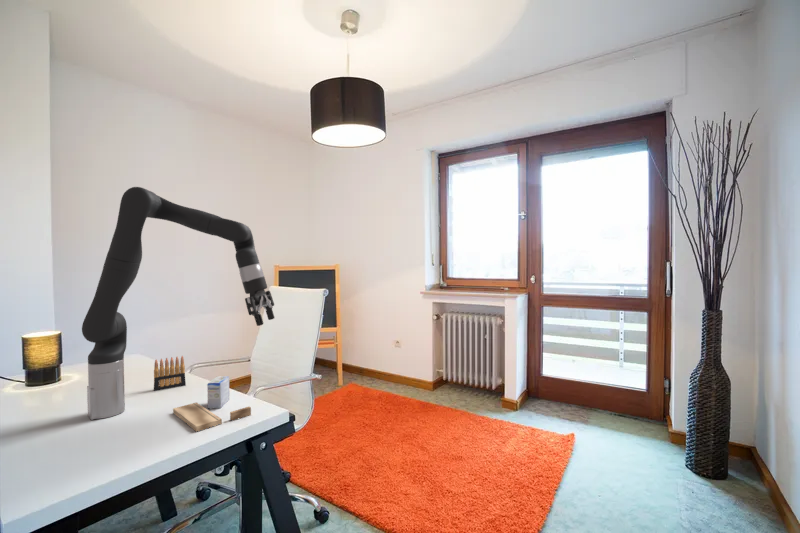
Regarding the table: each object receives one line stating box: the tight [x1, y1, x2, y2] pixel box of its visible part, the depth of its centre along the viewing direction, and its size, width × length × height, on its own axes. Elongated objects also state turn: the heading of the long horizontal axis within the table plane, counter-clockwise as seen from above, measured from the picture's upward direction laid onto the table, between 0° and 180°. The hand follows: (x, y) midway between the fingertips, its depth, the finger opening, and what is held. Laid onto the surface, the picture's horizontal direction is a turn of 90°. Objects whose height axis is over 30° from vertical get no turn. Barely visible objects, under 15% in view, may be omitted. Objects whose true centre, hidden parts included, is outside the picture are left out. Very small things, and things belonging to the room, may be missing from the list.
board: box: [172, 402, 223, 433], centre depth 117 cm, size 7×21×2 cm, turn 47°
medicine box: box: [206, 375, 230, 409], centre depth 129 cm, size 8×4×9 cm, turn 5°
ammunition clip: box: [153, 355, 187, 392], centre depth 148 cm, size 11×2×12 cm, turn 127°
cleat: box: [229, 406, 252, 421], centre depth 117 cm, size 6×1×2 cm, turn 137°
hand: (266, 322), depth 132 cm, fingers open, 8 cm apart
